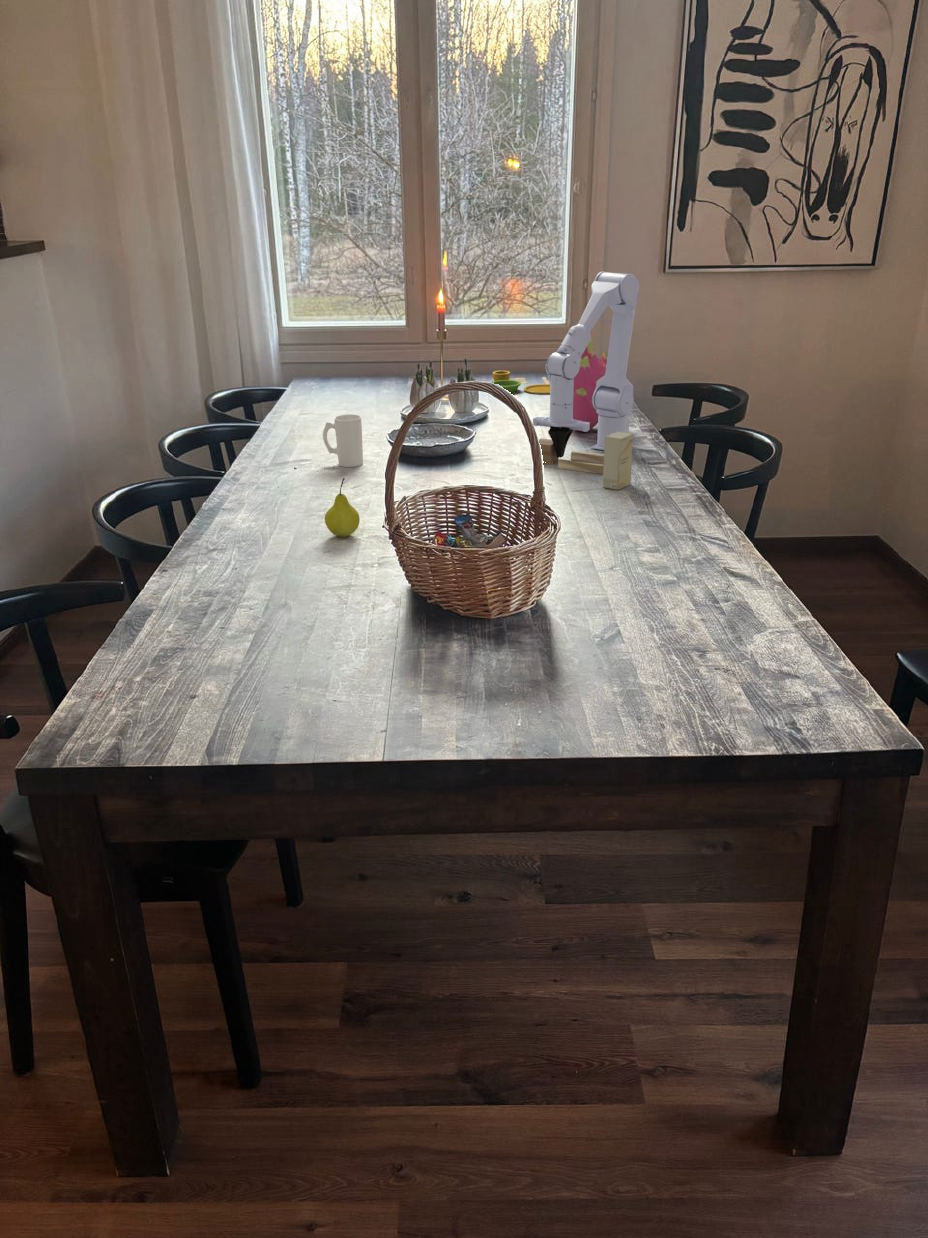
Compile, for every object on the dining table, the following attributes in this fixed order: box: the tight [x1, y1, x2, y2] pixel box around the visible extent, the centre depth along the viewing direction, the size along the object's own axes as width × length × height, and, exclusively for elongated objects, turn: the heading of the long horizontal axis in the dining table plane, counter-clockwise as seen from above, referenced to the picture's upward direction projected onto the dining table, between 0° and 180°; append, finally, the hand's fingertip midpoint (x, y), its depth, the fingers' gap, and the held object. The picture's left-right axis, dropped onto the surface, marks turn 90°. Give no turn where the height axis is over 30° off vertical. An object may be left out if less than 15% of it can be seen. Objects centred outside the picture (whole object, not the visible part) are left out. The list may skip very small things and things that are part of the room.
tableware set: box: [491, 370, 550, 395], centre depth 327 cm, size 41×28×6 cm
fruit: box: [323, 477, 361, 538], centre depth 196 cm, size 7×7×12 cm
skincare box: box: [602, 431, 634, 491], centre depth 223 cm, size 6×4×12 cm
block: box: [538, 437, 560, 465], centre depth 244 cm, size 5×5×5 cm
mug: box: [322, 413, 364, 468], centre depth 244 cm, size 10×7×12 cm, turn 86°
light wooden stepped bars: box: [557, 450, 604, 475], centre depth 240 cm, size 9×12×2 cm
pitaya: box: [573, 321, 611, 432], centre depth 265 cm, size 18×14×30 cm
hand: (560, 456), depth 243 cm, fingers closed
